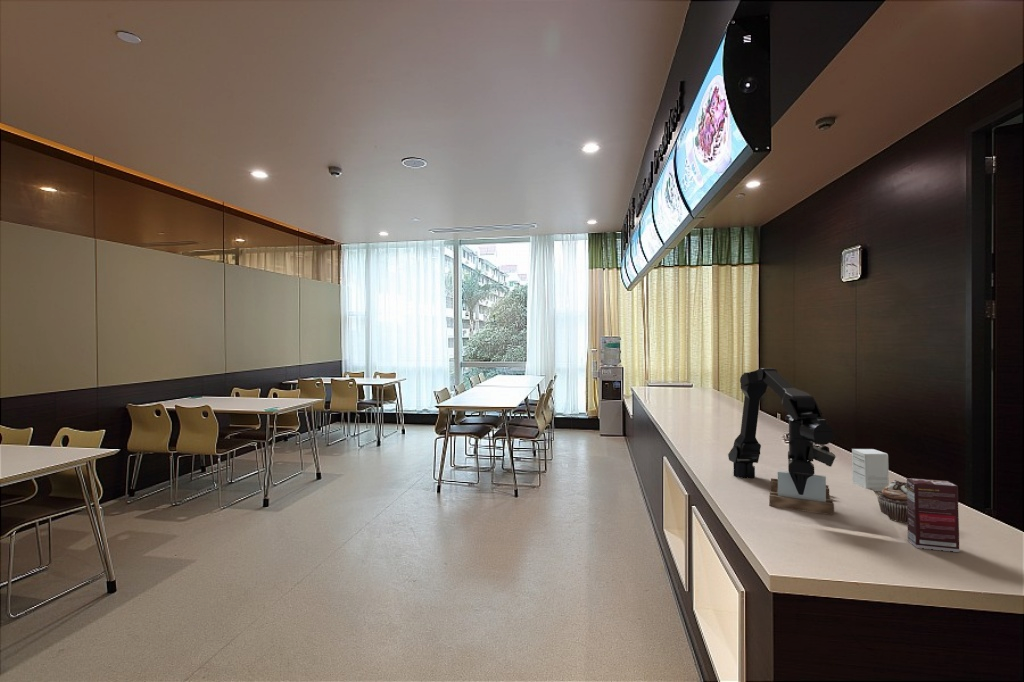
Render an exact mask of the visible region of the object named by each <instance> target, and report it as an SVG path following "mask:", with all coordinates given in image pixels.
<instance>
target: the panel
mask: <svg viewBox="0 0 1024 682" xmlns="http://www.w3.org/2000/svg"><path fill="white" fill-rule="evenodd" d="M777 479H778V496H784V497H791V498H798V499H805V500H813V501H820V502H826V485H827V484H826V483H827V477H826V476H825V475H820V474H819V475H818V474H814V475H813V476H811V477H809V478H808V479H807V482H806V486H805V490H804V494H803V495H799V494H798V492H797V489H796V487H795V485H794V482H793V480H792V478H791V476H790V474H789V471H784V470H777Z"/></svg>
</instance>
